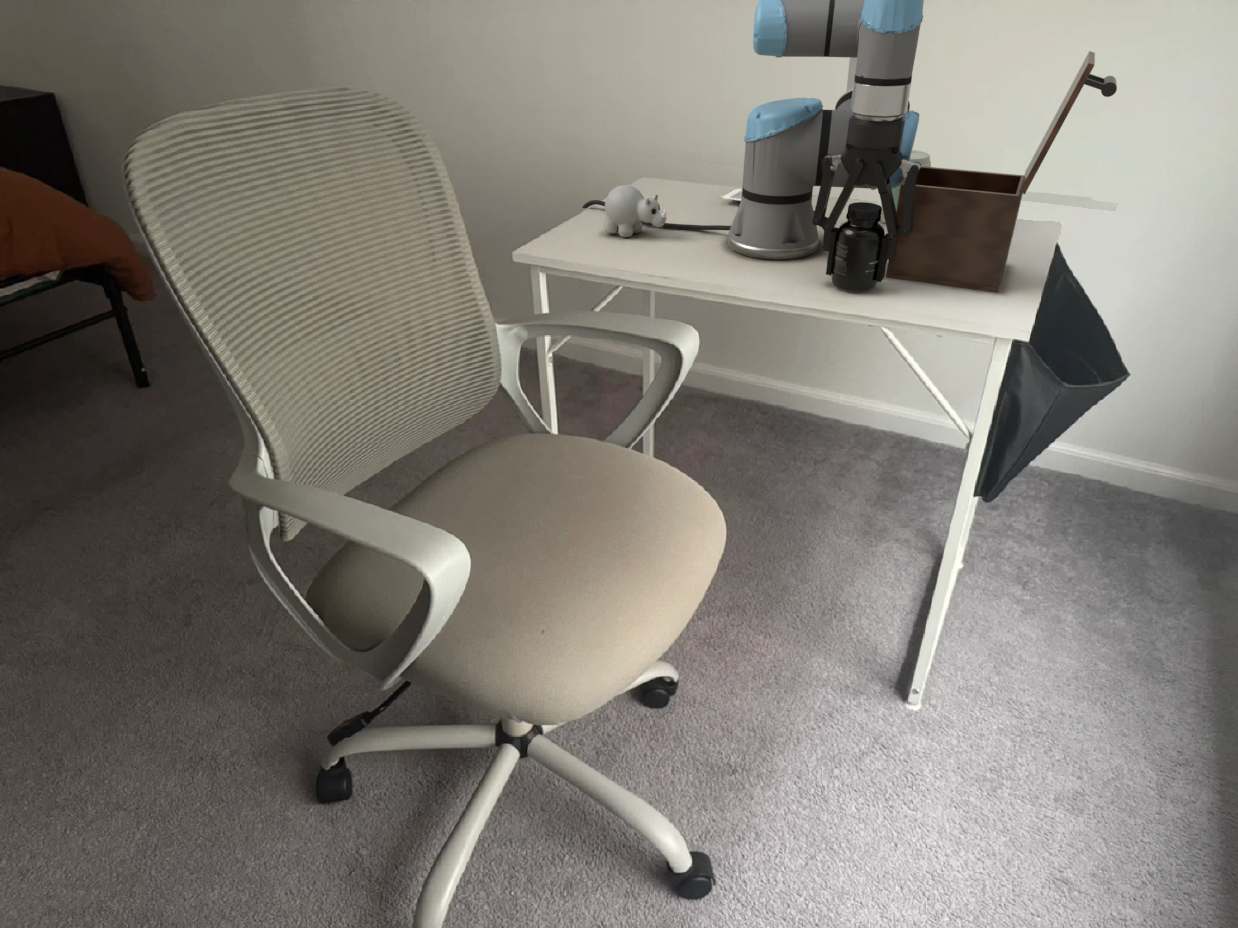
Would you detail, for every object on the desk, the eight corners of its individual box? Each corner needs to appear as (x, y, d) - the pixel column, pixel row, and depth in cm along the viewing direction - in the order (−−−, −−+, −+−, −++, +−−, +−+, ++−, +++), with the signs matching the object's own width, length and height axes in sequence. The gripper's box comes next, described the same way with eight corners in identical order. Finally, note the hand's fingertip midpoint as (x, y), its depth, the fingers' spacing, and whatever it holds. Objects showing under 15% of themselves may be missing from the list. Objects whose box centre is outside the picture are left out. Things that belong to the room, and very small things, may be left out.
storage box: (885, 277, 134) (900, 184, 127) (900, 253, 144) (914, 165, 136) (998, 292, 128) (1021, 196, 121) (1005, 266, 138) (1027, 175, 130)
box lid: (1088, 62, 110) (1127, 75, 109) (1089, 50, 120) (1125, 62, 118) (1019, 191, 121) (1054, 204, 120) (1025, 171, 130) (1057, 183, 129)
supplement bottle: (877, 294, 128) (890, 214, 121) (830, 291, 129) (841, 211, 122) (875, 278, 133) (887, 200, 127) (830, 275, 135) (840, 198, 128)
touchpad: (736, 193, 176) (737, 183, 174) (806, 203, 169) (807, 192, 168) (720, 203, 170) (720, 192, 169) (791, 213, 163) (792, 202, 162)
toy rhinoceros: (654, 246, 148) (655, 196, 144) (597, 235, 154) (596, 187, 149) (675, 235, 153) (676, 187, 149) (619, 225, 159) (618, 178, 155)
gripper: (956, 115, 117) (926, 276, 130) (813, 105, 124) (797, 259, 137) (949, 126, 111) (918, 293, 124) (799, 115, 119) (784, 274, 131)
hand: (855, 275), depth 130 cm, fingers closed on supplement bottle, 7 cm apart
